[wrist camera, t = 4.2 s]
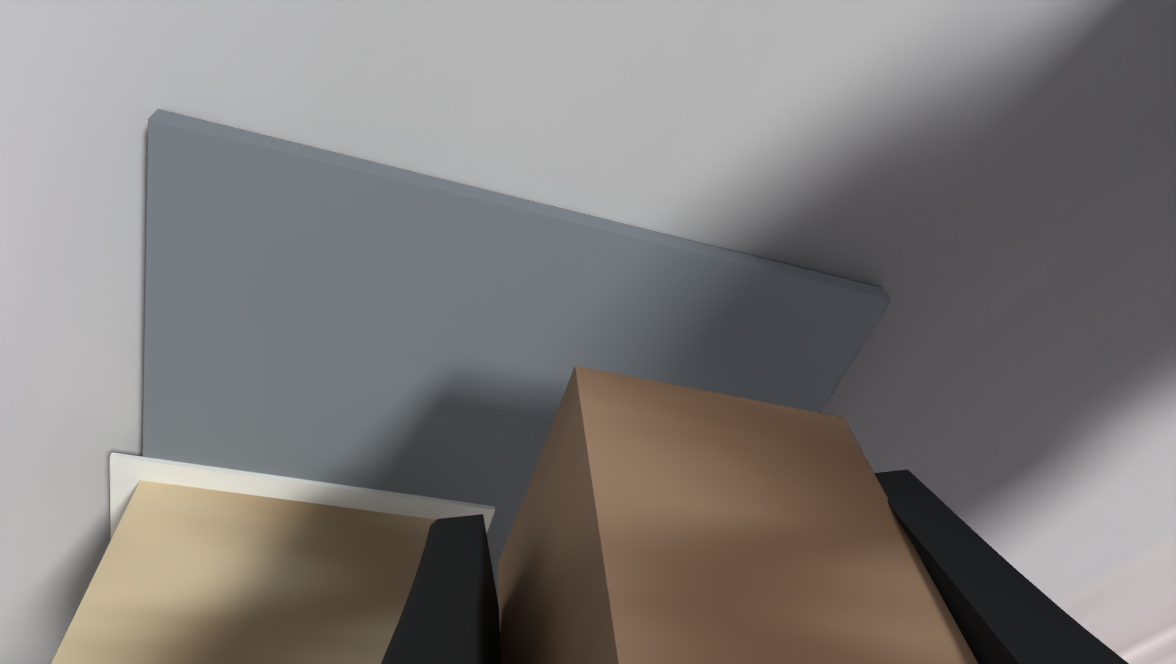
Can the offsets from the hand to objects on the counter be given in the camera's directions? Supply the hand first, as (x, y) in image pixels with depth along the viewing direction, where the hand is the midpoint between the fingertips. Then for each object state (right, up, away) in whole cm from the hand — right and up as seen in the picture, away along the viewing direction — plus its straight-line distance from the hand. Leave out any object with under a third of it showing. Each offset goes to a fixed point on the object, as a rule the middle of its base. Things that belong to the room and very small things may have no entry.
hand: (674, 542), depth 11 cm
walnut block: (0, 0, +1) cm, 1 cm away
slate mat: (-4, 0, +5) cm, 6 cm away
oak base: (-7, -3, +6) cm, 10 cm away
